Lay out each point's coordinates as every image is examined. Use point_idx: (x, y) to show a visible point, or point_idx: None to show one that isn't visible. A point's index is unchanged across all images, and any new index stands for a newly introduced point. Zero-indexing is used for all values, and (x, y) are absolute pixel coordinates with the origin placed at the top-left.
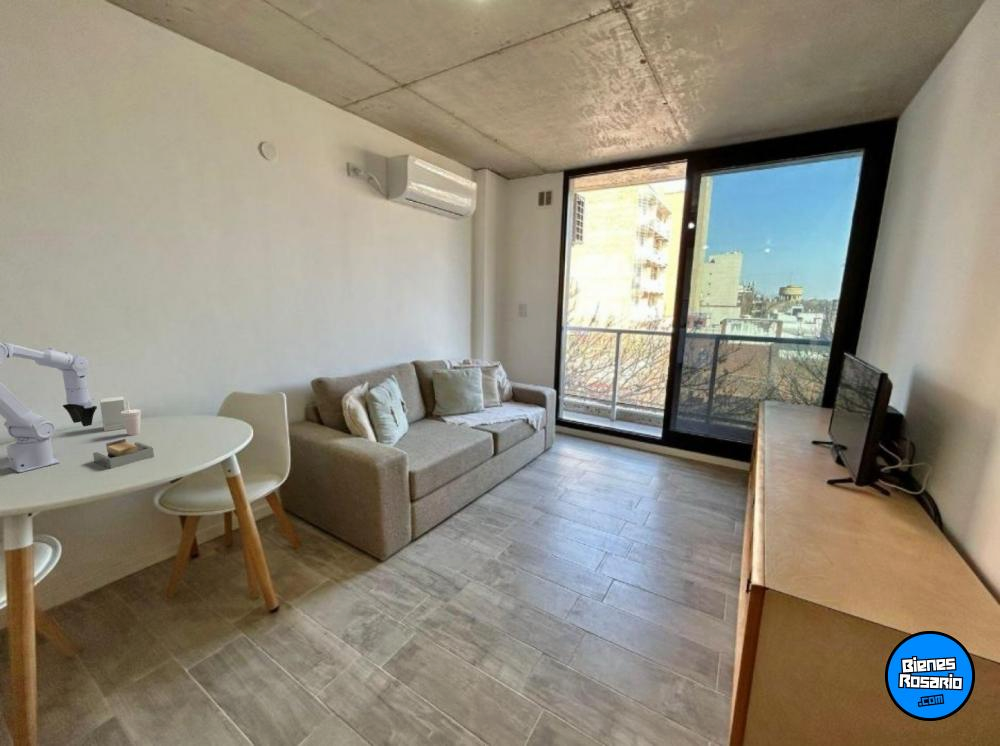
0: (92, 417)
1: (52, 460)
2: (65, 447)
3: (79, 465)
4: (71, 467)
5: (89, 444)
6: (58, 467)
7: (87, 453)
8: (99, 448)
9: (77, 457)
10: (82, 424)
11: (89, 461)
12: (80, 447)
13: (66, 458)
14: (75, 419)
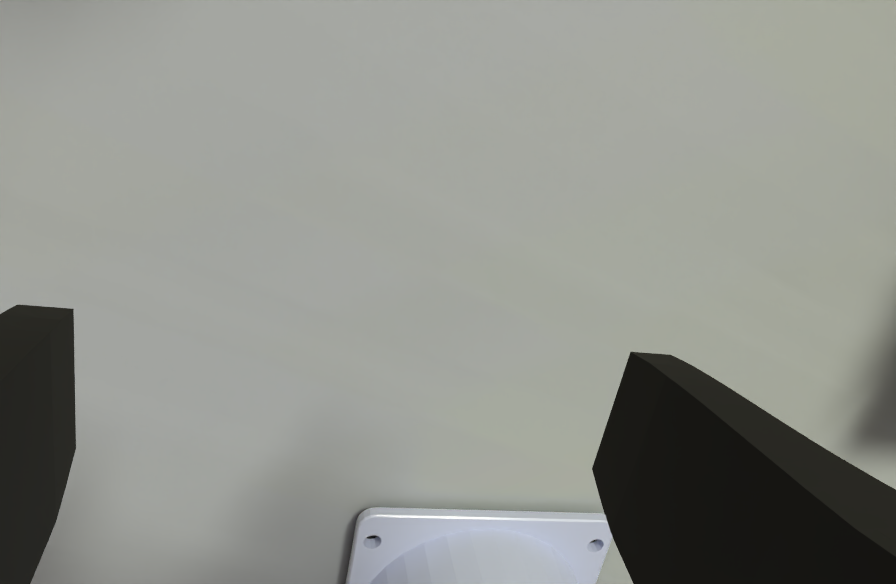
0: (839, 467)
1: (566, 566)
2: (16, 268)
3: None
4: None
5: (169, 46)
6: None
7: (578, 270)
8: (525, 99)
9: (606, 378)
10: (615, 513)
11: (842, 381)
12: (218, 183)
13: (525, 437)
14: (42, 485)
